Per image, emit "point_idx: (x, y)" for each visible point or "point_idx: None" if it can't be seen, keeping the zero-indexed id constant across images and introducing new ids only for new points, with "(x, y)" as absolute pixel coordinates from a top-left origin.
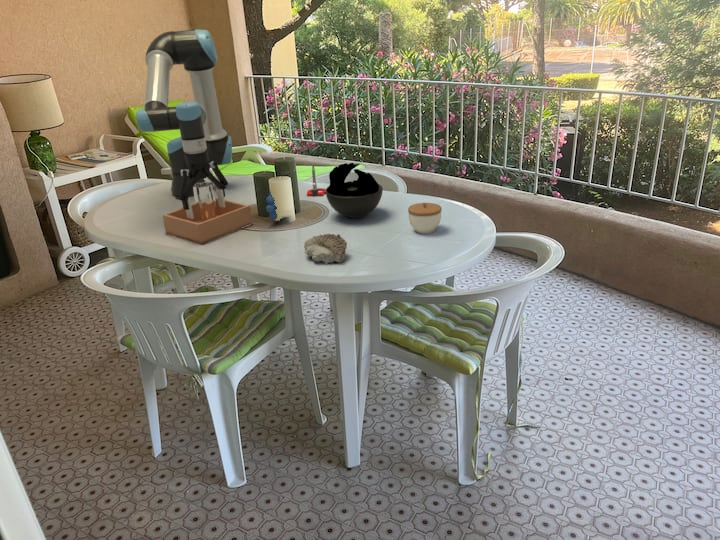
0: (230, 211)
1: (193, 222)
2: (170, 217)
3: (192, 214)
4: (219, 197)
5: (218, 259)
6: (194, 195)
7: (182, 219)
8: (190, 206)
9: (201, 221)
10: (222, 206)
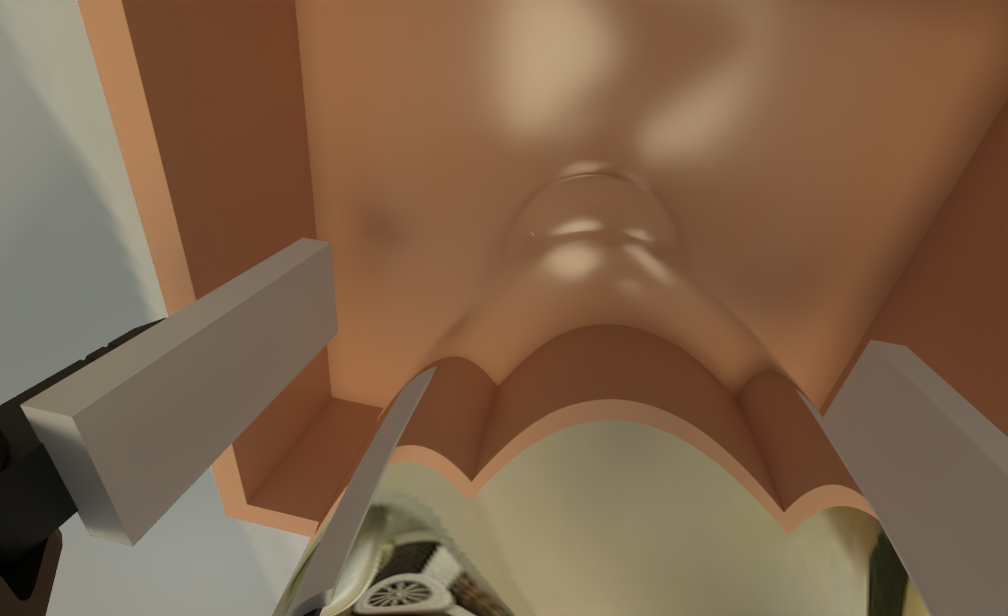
0: (928, 352)
1: (225, 456)
2: (94, 41)
3: (300, 359)
4: (945, 505)
5: (272, 547)
6: (329, 504)
7: (182, 300)
8: (211, 439)
9: (515, 243)
10: (837, 414)
